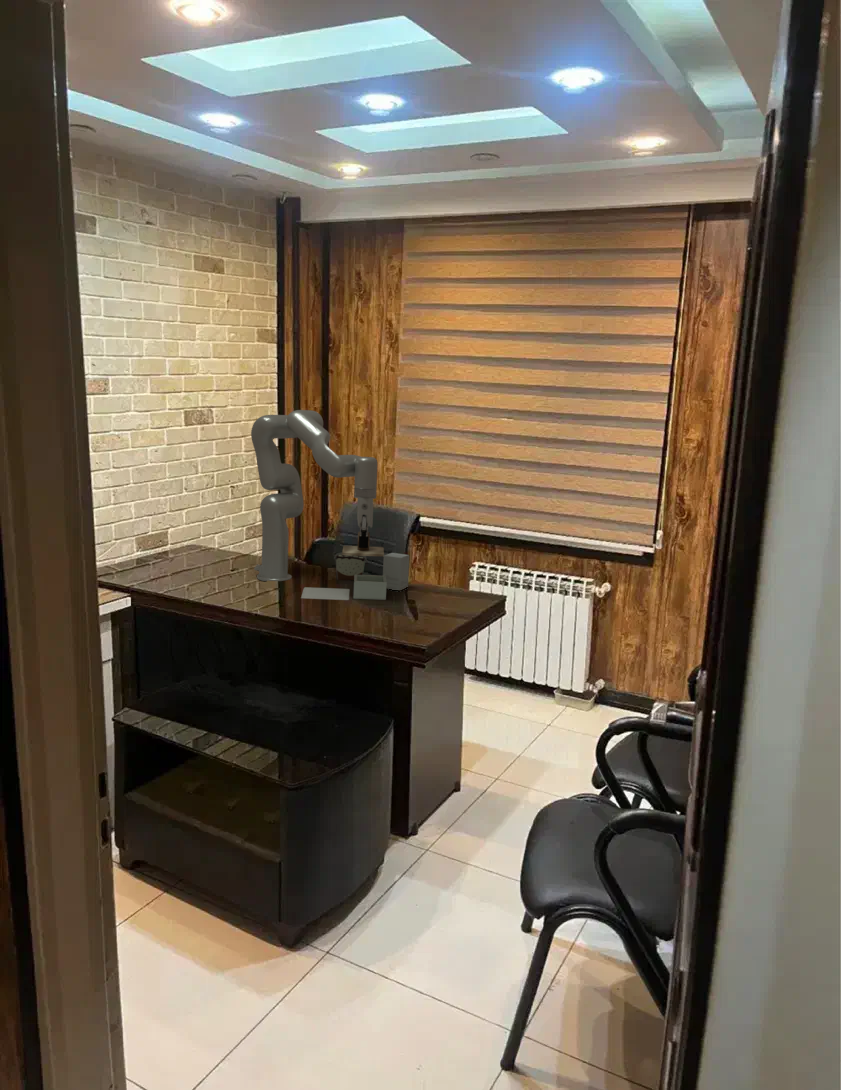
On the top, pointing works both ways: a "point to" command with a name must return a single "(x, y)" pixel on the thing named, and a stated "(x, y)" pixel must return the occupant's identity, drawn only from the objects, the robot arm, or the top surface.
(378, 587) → the open square bin
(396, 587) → the supplement box
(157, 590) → the top surface
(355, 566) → the grey half-round piece
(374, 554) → the lid
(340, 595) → the mat
